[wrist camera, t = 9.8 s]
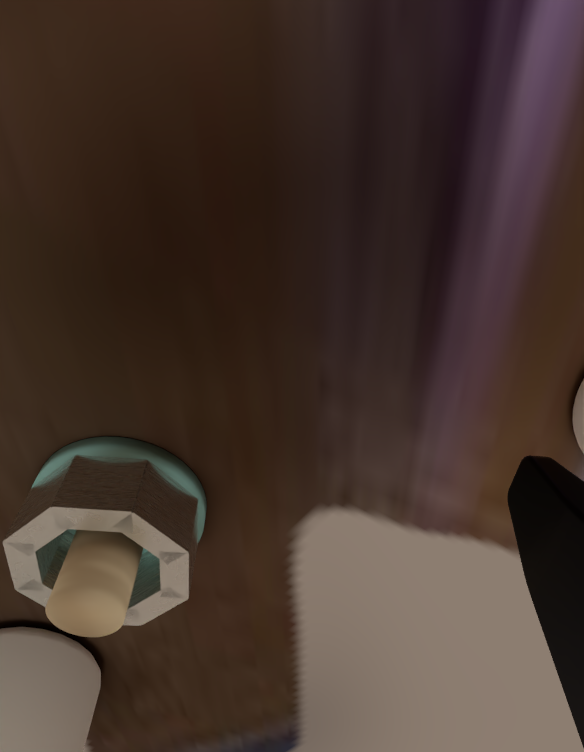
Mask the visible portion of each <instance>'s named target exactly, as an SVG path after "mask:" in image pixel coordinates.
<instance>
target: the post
mask: <svg viewBox="0 0 584 752" xmlns="http://www.w3.org/2000/svg"><path fill="white" fill-rule="evenodd" d="M75 455H88V456H103V457H117V458H132V459H146V460H149V461H151V462H152V463H153V464H155V465H156V466H157V467H158V468H160V469H161V470H162V471H163V472H165V473H166V474H167V475H169V476H170V477H171V478H172V479H174V480H175V481H176V482H177V483H179V484H180V485H181V486H182V487H184V488H185V489H186V490H188V491H189V492H190V493H191V494H193V495H194V496H195V497H196V498H198V542H199V540H200V538H201V536H202V533H203V529H204V522H205V516H206V509H207V504H206V496H205V492H204V489H203V487H202V485H201V483H200V481H199V480H198V478H197V476H196V475H195V474H194V473H193V471H192V470H191V469H190V468H189V467H188V466H187V465H186V464H185V463H184V462H183V461H181V460H180V459H178V458H177V457H176V456H174V455H173V454H171V453H169V452H167V451H166V450H164V449H162V448H160V447H157V446H155V445H153V444H150V443H147V442H143V441H140V440H135V439H131V438H124V437H107V436H105V437H94V438H88V439H83V440H80V441H77V442H74V443H71V444H69V445H67V446H65V447H63V448H61V449H60V450H58V451H57V452H55V453H54V454H53V455H52V456H51V457H50V458H49V459H48V460H47V461H46V462H45V464H44V465H43V467H42V469H41V470H40V472H39V474H38V476H37V478H36V480H35V482H34V484H33V485H32V487H33V486H35V485H36V484H37V483H39V482H40V481H41V480H43V479H44V478H45V477H47V476H48V475H49V474H51V473H52V472H53V471H55V470H56V469H57V468H59V467H60V466H61V465H63V464H64V463H65V462H67V461H68V460H69V459H71V458H72V457H73V456H75ZM32 487H31V488H32ZM67 531H69V532H70V533H72V534H73V535H74V538H73V540H72V543H71V545H70V548H69V550H68V553H67V555H66V558H65V560H64V563H63V565H62V567H61V570H60V572H59V575H58V577H57V580H56V582H55V585H54V587H53V590H52V592H51V595H50V597H49V600H48V602H47V605H46V609H45V610H46V615H47V617H48V619H49V620H50V621H51V622H52V623H53V624H54V625H55V626H56V627H58V628H59V629H61V630H63V631H65V632H67V633H70V634H73V635H77V636H83V637H101V636H106V635H109V634H112V633H114V632H116V631H117V630H119V629H120V628H121V626H122V625H123V623H124V620H125V616H126V612H127V608H128V605H129V601H130V597H131V593H132V589H133V586H134V582H135V578H136V574H137V571H138V567H139V563H140V559H141V555H142V554H144V553H146V552H147V551H148V550H146V549H145V548H143V547H142V546H140V545H139V544H137V543H136V542H135V541H133V540H132V539H130V538H129V537H127V536H126V535H124V534H123V533H121V532H107V531H91V530H74V529H67Z"/></svg>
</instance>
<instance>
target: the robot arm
mask: <svg viewBox="0 0 584 752" xmlns="http://www.w3.org/2000/svg"><path fill="white" fill-rule="evenodd" d="M508 506H509V510H510V514H511V519H512V523H513V527H514V532H515V536H516V540H517V545H518V549H519V554H520V558H521V562H522V566H523V571H524V575H525V578H526V582H527V586H528V588H529V592H530V595H531V598H532V601H533V604H534V607H535V610H536V612H537V615H538V618H539V621H540V624H541V626H542V630H543V632H544V635H545V638H546V641H547V644H548V647H549V650H550V652H551V656H552V658H553V661H554V664H555V667H556V670H557V673H558V676H559V678H560V681H561V684H562V687H563V690H564V693H565V696H566V699H567V702H568V704H569V707H570V710H571V712H572V716H573V719H574V721H575V724H576V727H577V730H578V733H579V736H580V739H581V742H582V745H583V747H584V481H582V480H581V479H580V478H578V477H577V476H575V475H574V474H573V473H571V472H570V471H568V470H567V469H566V468H564V467H563V466H562V465H560V464H559V463H557V462H556V461H555V460H553V459H552V458H549V457H542V456H526V457H524V458H523V459H522V461H521V463H520V465H519V467H518V470H517V472H516V474H515V476H514V479H513V481H512V483H511V486H510V488H509V491H508Z"/></svg>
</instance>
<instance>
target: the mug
mask: <svg viewBox="0 0 584 752" xmlns="http://www.w3.org/2000/svg"><path fill="white" fill-rule="evenodd" d="M572 422H573V429H574V433H575V436H576V439H577V442H578V445H579V447H580V449H581V450H582V452H583V454H584V379H583V381H582V383H581V385H580V387H579V389H578V392H577V395H576V398H575V402H574V407H573V420H572Z"/></svg>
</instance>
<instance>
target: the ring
mask: <svg viewBox="0 0 584 752" xmlns="http://www.w3.org/2000/svg"><path fill="white" fill-rule="evenodd" d="M67 529H74V530H91V531H107V532H121V533H123V534H124V535H126V536H127V537H129V538H130V539H132V540H133V541H135V542H136V543H137V544H139V545H140V546H142V547H143V548H145V549H146V550H148V551H147V552H146V553H144V554H142V555H141V559H140V563H139V567H138V571H137V574H136V578H135V582H134V586H133V589H132V593H131V597H130V601H129V605H128V608H127V612H126V616H125V620H124V623H123V625H136V626H140V625H143V624H145V623H147V622H148V621H150V620H152V619H154V618H155V617H157V616H159V615H161V614H163V613H164V612H166V611H168V610H170V609H172V608H173V607H175V606H177V605H179V604H180V603H182V602H184V601H186V600H188V598H189V593H190V587H191V581H192V575H193V569H194V563H195V556H196V550H197V544H198V498H196V497H195V496H194V495H193V494H191V493H190V492H189V491H188V490H186V489H185V488H184V487H182V486H181V485H180V484H179V483H177V482H176V481H175V480H174V479H172V478H171V477H170V476H169V475H167V474H166V473H165V472H163V471H162V470H161V469H160V468H158V467H157V466H156V465H155V464H153V463H152V462H151V461H149V460H146V459H132V458H117V457H103V456H88V455H75V456H73V457H72V458H71V459H69V460H68V461H67V462H65V463H64V464H63V465H61V466H60V467H59V468H57V469H56V470H55V471H53V472H52V473H51V474H49V475H48V476H47V477H45V478H44V479H43V480H41V481H40V482H39V483H37V484H36V485H35V486H33V487H32V488H31V490H30V492H29V494H28V496H27V498H26V499H25V501H24V503H23V505H22V507H21V509H20V511H19V512H18V514H17V516H16V518H15V520H14V522H13V524H12V525H11V527H10V529H9V531H8V533H7V535H6V537H5V538H4V540H3V546H4V549H5V553H6V557H7V561H8V564H9V568H10V572H11V576H12V580H13V583H14V587H15V589H16V591H18V592H20V593H22V594H23V595H25V596H27V597H29V598H30V599H32V600H34V601H36V602H37V603H39V604H41V605H43V606H44V607H46V605H47V602H48V600H49V597H50V595H51V592H52V590H53V587H54V585H55V582H56V580H57V577H58V575H59V572H60V570H61V567H62V565H63V563H64V560H65V558H66V555H67V553H68V550H69V548H70V545H71V543H72V540H73V538H74V535H73V534H72V533H70V532H69V531H67Z"/></svg>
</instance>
